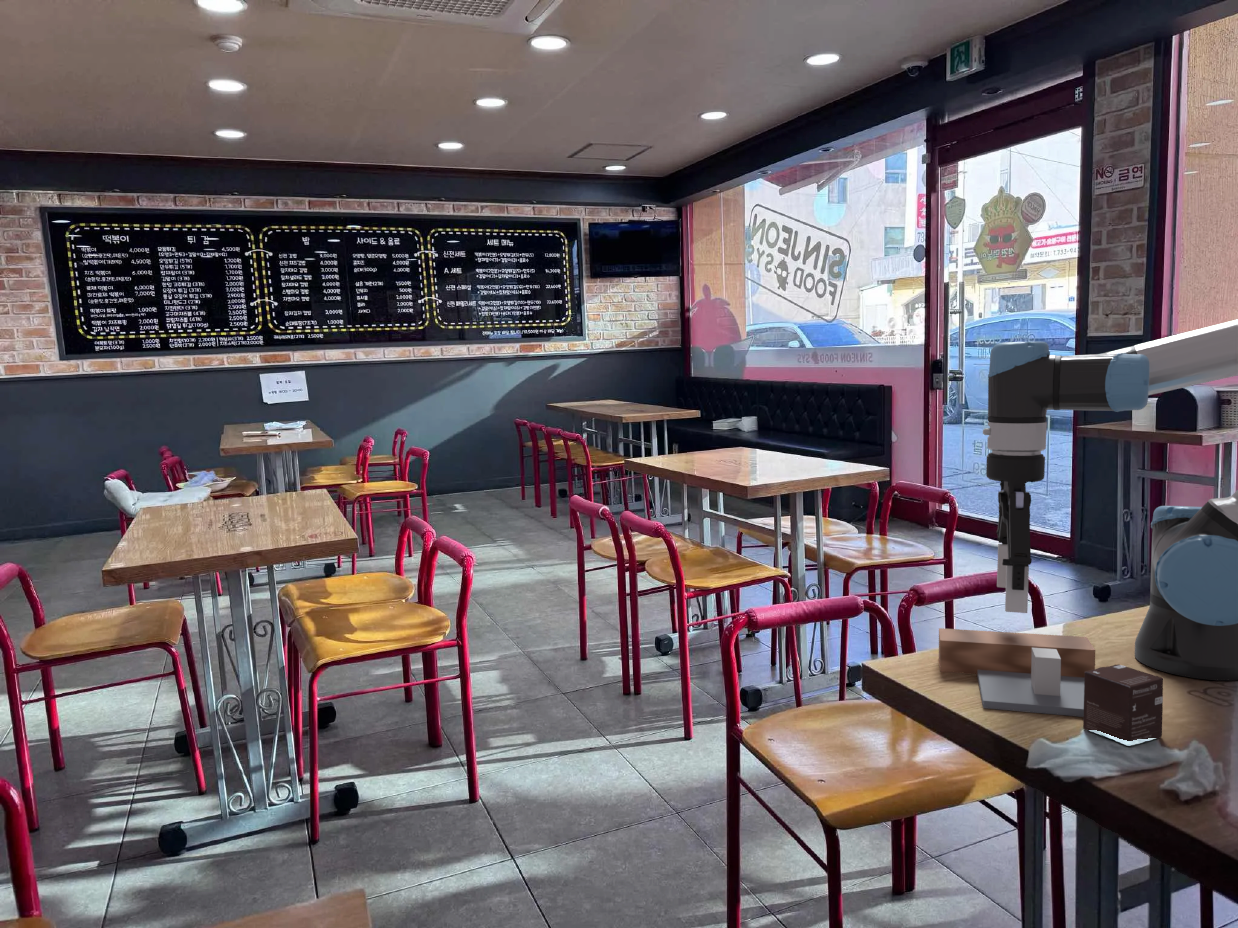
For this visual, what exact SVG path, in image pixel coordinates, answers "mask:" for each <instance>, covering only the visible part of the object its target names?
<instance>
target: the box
mask: <svg viewBox="0 0 1238 928" xmlns="http://www.w3.org/2000/svg"><path fill="white" fill-rule="evenodd" d="M1163 685H1164V677H1161V676H1159V675H1155V674H1152V673H1148V672H1145V671H1142V670H1138V669H1135V668H1133V667H1129V666H1125V665H1123V664H1122V665H1121V664H1114V665H1109V666H1108V665H1107V666H1100V667H1097V668H1095V669H1094V670H1090V671H1085V679H1084V717H1082V719H1083V720H1082V721H1083V722H1082V723H1083V724H1082V725H1083V726H1082V728H1083V729H1084V730H1085V731H1087V730H1097V731H1101V732H1103V733H1106V734H1109V735H1111V736H1114V737H1117V738H1119V739H1123V740H1127V741H1133V740H1137V739H1148V738H1157V739H1161V738H1162V737H1163V707H1164V706H1163V705H1164V704H1163V702H1164V688H1163V687H1164V686H1163ZM1157 739H1156V740H1157Z"/></svg>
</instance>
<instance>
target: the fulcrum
mask: <svg viewBox="0 0 1238 928" xmlns="http://www.w3.org/2000/svg"><path fill="white" fill-rule="evenodd" d="M976 677H977V682H978V687H979V693H980V699H981V703H982V708H983V709H990V710H1002V711H1003V710H1004V711H1012V712H1023V713H1025V712H1026V713H1035V714H1046V715H1055V716H1056V715H1058V716H1068V717H1069V716H1070V717H1078V718H1080V717H1081V718H1084V679H1085V678H1082V677H1069V676H1061V658H1060V656H1059V654H1058V652H1057V649H1046V648H1032V658H1031V674H1029V673H1016V672H1003V671H990V670H977V674H976Z"/></svg>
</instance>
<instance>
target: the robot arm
mask: <svg viewBox="0 0 1238 928" xmlns="http://www.w3.org/2000/svg"><path fill="white" fill-rule="evenodd" d="M1049 348H1050V347H1049V344H1048V343H1047V342H1046V341H1017V342H1016V341H1015V342H1013V341H1012V342H1010V341H1009V342H999V343H996V344H994V346H993V347H992V348H991V349H990V358H989V367H988V369H989V370H988V374H987V380H988V381H987V382H988V383H987V388H988V389H987V393H988V394H987V421H988V422H987V426H988V428H987V427H986V428H984V429H982V434H983V435H985V436H987V448H988V450H990V451H991V452H989V453H988V454H987V455H986V462H985V463H986V466H985V467H986V469H985V472H986V473H985V476H986V478H987V479H989V480H990V481H996V482H999V486H1000V490H999V491H998V493H997V498H998V499H997V500H998V502H997V503H998V520H997V521H998V523H997V530H996V535H997V541H998V544H997V567H996V568H997V571H996V573H997V575H996V587H997V588H1003V589H1005V602H1004V603H1005V605H1004V612H1005V613H1020V614H1021V613H1022V614H1028V606H1029V605H1028V602H1029V601H1028V599H1029V579H1030V578H1029V572H1030V570H1029V569H1030V565H1031V564H1032V562H1033V560H1032V559H1033V558H1032V554H1031V520H1030V519H1031V504H1032V495H1031V494H1030V493H1031V492H1030V491H1027V488H1026V486H1027V485H1026V484H1027V483H1038V482H1041V481H1043V480H1044V479H1045V472H1046V471H1045V470H1046V469H1045V468H1046V456H1045V455H1044V454H1043V453H1042V452H1044V451H1045V450H1046V448H1047V428H1048V427H1047V424H1048V423H1047V412H1048V411H1051V410H1052V411H1060V410H1062V411H1063V410H1065V411H1066V410H1067V411H1103V412H1104V411H1107V412H1108V411H1109V412H1110V411H1112V412H1115V413H1116V412H1117V413H1119V412H1124V411H1140V410H1143V409H1144V408H1146V407H1147V405H1148V401H1149V396H1152V395H1157V394H1161V393H1164V392H1169V391H1174V390H1177V389H1178V390H1179V389H1182V388H1187V387H1191V386H1192V387H1193V386H1196V385H1201V384H1206V383H1209V382H1215V381H1219V380H1223V379H1224V380H1225V379H1229V378H1232V377H1236V376H1238V318H1237V319H1233V320H1230V321H1225V322H1221V323H1218V324H1213V325H1209V326H1206V327H1202V328H1198V329H1194V330H1190V331H1185V332H1182V333H1178V334H1174V335H1170V336H1166V337H1163V338H1158V339H1155V340H1151V341H1146V342H1142V343H1138V344H1135V345H1132V346H1127V347H1122V348H1119V349H1115V350H1112V351H1106V352H1103V353H1096V354H1077V355H1076V354H1075V355H1062V354H1061V355H1056V354H1051V351H1050V349H1049ZM1152 515H1153V516H1152V521H1151V523H1150V528H1151V529H1152V530H1151V531H1152V532H1151V556H1150V557H1151V561H1150V592H1149V593H1150V594H1149V595H1150V596H1149V597H1150V598H1149V607H1148V610H1147V612H1146V615H1145V617H1144V619H1143V622H1142V623H1141V627H1140V628H1139V631H1138V633H1137V636H1136V638H1135V642H1134V657H1135V659H1136V660H1137V661H1138V662H1140V663H1142V664H1143V665H1145V666H1147V667H1148V668H1152V669H1155V670H1157V671H1161V672H1164V673H1167V674H1171V675H1177V676H1181V677H1187V678H1192V679H1200V680H1209V681H1238V489H1236V490H1235V492H1233V493H1232V495H1230V496H1228V497H1227V496H1226V497H1217V498H1210V499H1208V500H1207V502H1205V504H1204V505H1203V506H1192V505H1191V506H1187V505H1186V506H1185V505H1160V506H1158V507H1156V508H1155V509H1154V511H1153V514H1152Z"/></svg>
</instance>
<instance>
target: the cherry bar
mask: <svg viewBox="0 0 1238 928" xmlns="http://www.w3.org/2000/svg"><path fill="white" fill-rule="evenodd" d="M1032 648H1046V649H1057V652H1058V654H1059V656H1060V658H1061V676H1069V677H1082V678H1085V671H1090V670H1094V669H1096V649H1095V648H1094V645H1093V644H1092V643H1091V641H1090V640H1089V638H1088V637H1087V636H1076V635H1075V636H1074V635H1060V634H1059V635H1058V634H1046V633H1045V634H1044V633H1043V634H1041V633H1025V632H1009V631H1007V632H1006V631H994V630H993V631H992V630H978V629H977V630H975V629H957V628H943V627H942V628H941V627H939V628H938V664H939V665H938V666H939V672H941V673H956V674H965V675H966V674H968V675H969V674H970V675H977V670H990V671H1003V672H1016V673H1029V674H1031V658H1032Z"/></svg>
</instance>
